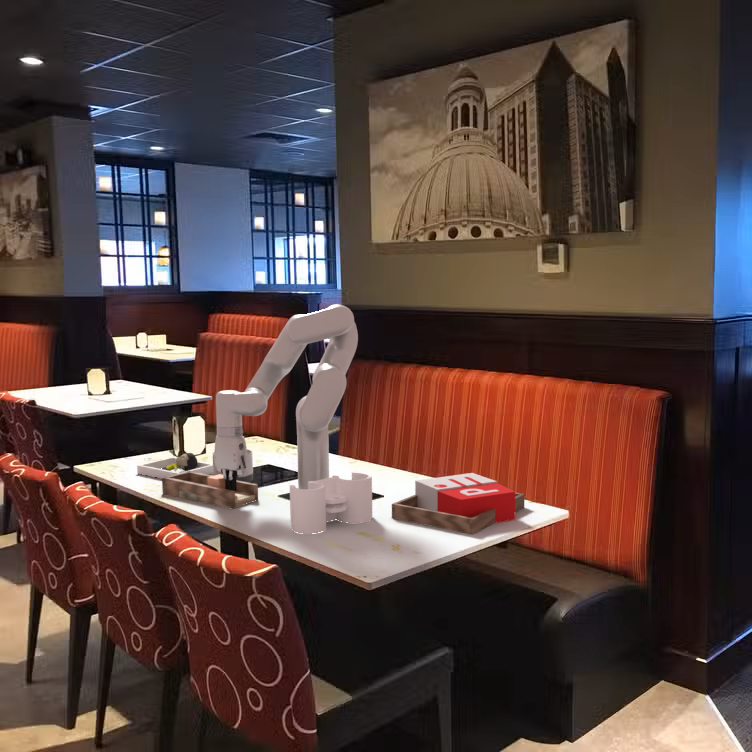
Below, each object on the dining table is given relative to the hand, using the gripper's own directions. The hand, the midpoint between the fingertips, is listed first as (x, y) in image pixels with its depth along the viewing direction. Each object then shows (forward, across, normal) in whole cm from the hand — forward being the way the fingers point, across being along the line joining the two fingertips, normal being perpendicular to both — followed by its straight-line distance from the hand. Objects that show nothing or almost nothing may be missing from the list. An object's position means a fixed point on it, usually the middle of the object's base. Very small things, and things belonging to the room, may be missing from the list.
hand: (231, 491), depth 248 cm
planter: (+4, +15, -16) cm, 22 cm away
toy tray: (+3, +42, -15) cm, 45 cm away
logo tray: (+3, -63, -28) cm, 69 cm away
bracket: (+3, -40, 0) cm, 40 cm away
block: (+1, +5, 0) cm, 5 cm away
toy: (+3, +42, -15) cm, 45 cm away
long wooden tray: (+3, +10, 0) cm, 11 cm away
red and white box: (+3, -65, -29) cm, 71 cm away
